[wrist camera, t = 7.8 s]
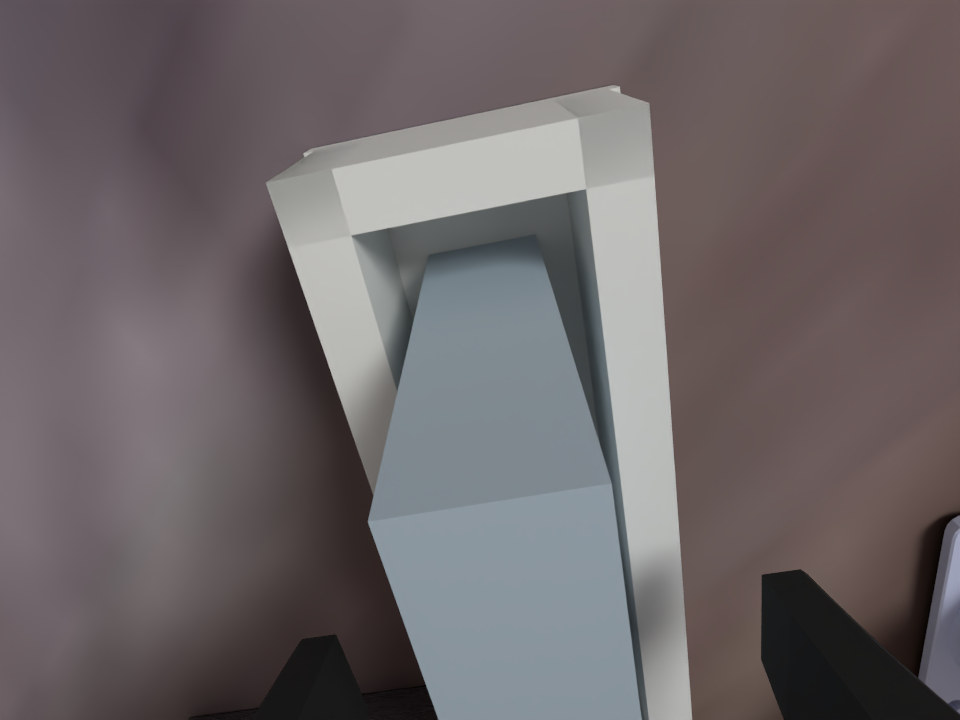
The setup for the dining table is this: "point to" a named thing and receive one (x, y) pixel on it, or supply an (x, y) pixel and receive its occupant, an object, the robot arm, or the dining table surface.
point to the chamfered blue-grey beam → (502, 503)
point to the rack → (371, 707)
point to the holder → (574, 280)
